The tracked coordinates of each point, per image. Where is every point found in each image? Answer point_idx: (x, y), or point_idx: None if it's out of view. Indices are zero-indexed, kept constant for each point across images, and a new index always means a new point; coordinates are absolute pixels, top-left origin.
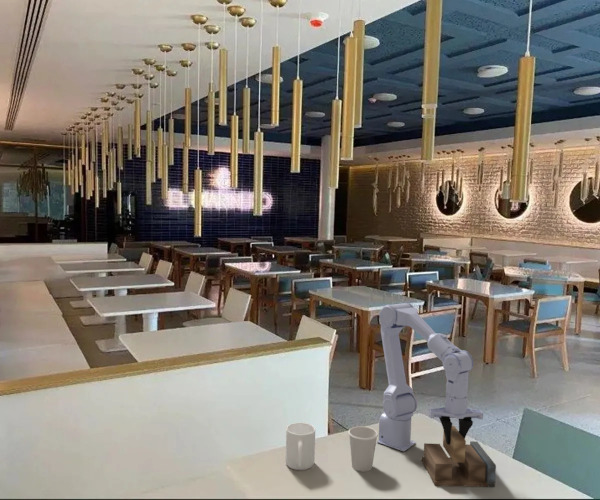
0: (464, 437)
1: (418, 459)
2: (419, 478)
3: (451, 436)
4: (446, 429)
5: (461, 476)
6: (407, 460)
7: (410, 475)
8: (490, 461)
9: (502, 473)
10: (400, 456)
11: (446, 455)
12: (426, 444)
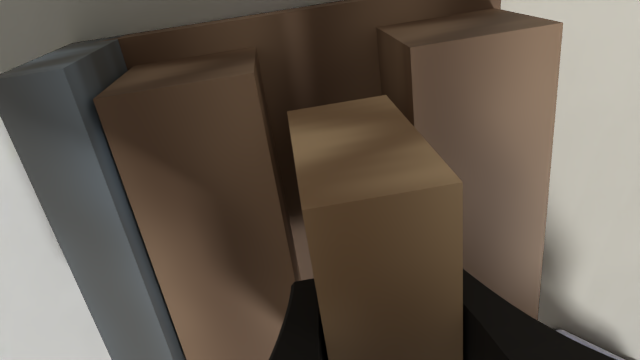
0: (289, 329)
1: None
2: (560, 56)
3: (462, 294)
4: (585, 351)
5: (295, 98)
6: (563, 250)
7: (604, 83)
8: (42, 146)
9: (17, 233)
10: (587, 281)
11: None
12: None
